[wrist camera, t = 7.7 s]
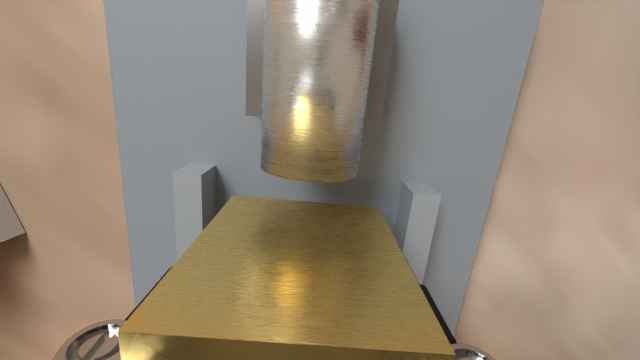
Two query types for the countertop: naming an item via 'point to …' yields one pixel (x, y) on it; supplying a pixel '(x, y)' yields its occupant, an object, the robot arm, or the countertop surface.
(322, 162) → the shaft
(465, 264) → the board
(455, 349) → the robot arm
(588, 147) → the countertop surface
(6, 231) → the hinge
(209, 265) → the coupler
